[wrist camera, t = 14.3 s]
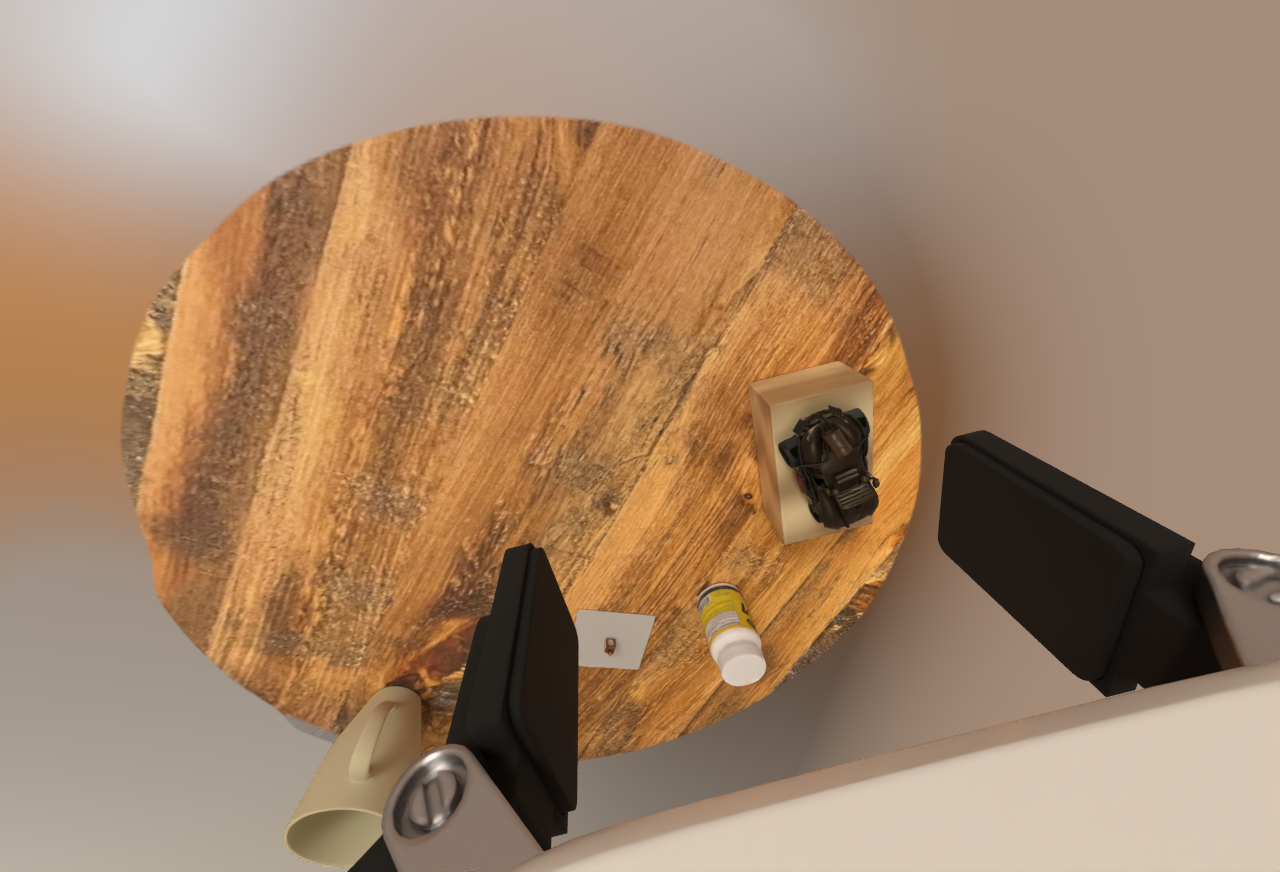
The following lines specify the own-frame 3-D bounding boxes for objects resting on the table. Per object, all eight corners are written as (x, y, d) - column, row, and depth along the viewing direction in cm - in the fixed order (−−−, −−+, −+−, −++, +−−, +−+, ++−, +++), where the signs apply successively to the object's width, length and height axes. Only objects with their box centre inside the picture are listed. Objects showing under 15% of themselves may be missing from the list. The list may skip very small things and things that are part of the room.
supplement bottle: (744, 608, 49) (774, 681, 41) (701, 621, 49) (723, 696, 41) (736, 575, 46) (766, 645, 39) (691, 589, 46) (712, 661, 39)
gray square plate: (638, 669, 51) (640, 685, 49) (565, 664, 49) (564, 681, 48) (655, 615, 48) (658, 630, 46) (578, 609, 46) (577, 624, 44)
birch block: (747, 383, 38) (770, 406, 33) (838, 360, 38) (873, 380, 33) (763, 511, 43) (784, 545, 39) (842, 491, 43) (872, 523, 39)
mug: (466, 708, 50) (434, 842, 40) (384, 738, 51) (332, 879, 40) (406, 645, 46) (352, 778, 35) (318, 679, 46) (237, 821, 35)
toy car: (848, 385, 33) (884, 409, 29) (881, 508, 38) (916, 542, 34) (768, 423, 34) (792, 450, 30) (811, 539, 39) (837, 575, 35)
